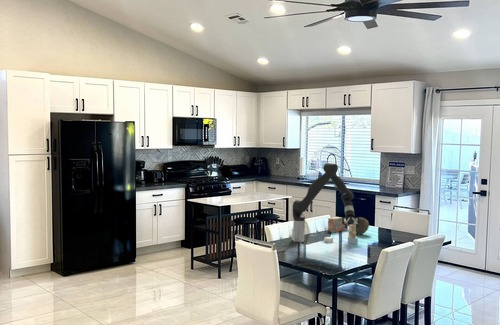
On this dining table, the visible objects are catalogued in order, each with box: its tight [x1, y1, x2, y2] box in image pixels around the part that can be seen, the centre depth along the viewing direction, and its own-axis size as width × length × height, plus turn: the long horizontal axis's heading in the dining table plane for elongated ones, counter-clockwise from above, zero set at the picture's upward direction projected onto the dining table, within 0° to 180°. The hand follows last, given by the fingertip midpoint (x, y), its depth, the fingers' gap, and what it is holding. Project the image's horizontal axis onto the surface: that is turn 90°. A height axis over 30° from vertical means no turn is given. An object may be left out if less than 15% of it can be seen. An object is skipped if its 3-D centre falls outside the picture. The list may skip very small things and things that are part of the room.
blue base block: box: [347, 235, 359, 245], centre depth 386 cm, size 7×7×5 cm
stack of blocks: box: [327, 216, 349, 233], centre depth 437 cm, size 21×6×12 cm, turn 131°
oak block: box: [348, 223, 357, 238], centre depth 386 cm, size 4×4×10 cm
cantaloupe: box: [351, 216, 370, 235], centre depth 422 cm, size 14×14×15 cm
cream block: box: [323, 236, 334, 244], centre depth 389 cm, size 5×5×4 cm
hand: (351, 228), depth 387 cm, fingers open, 8 cm apart
